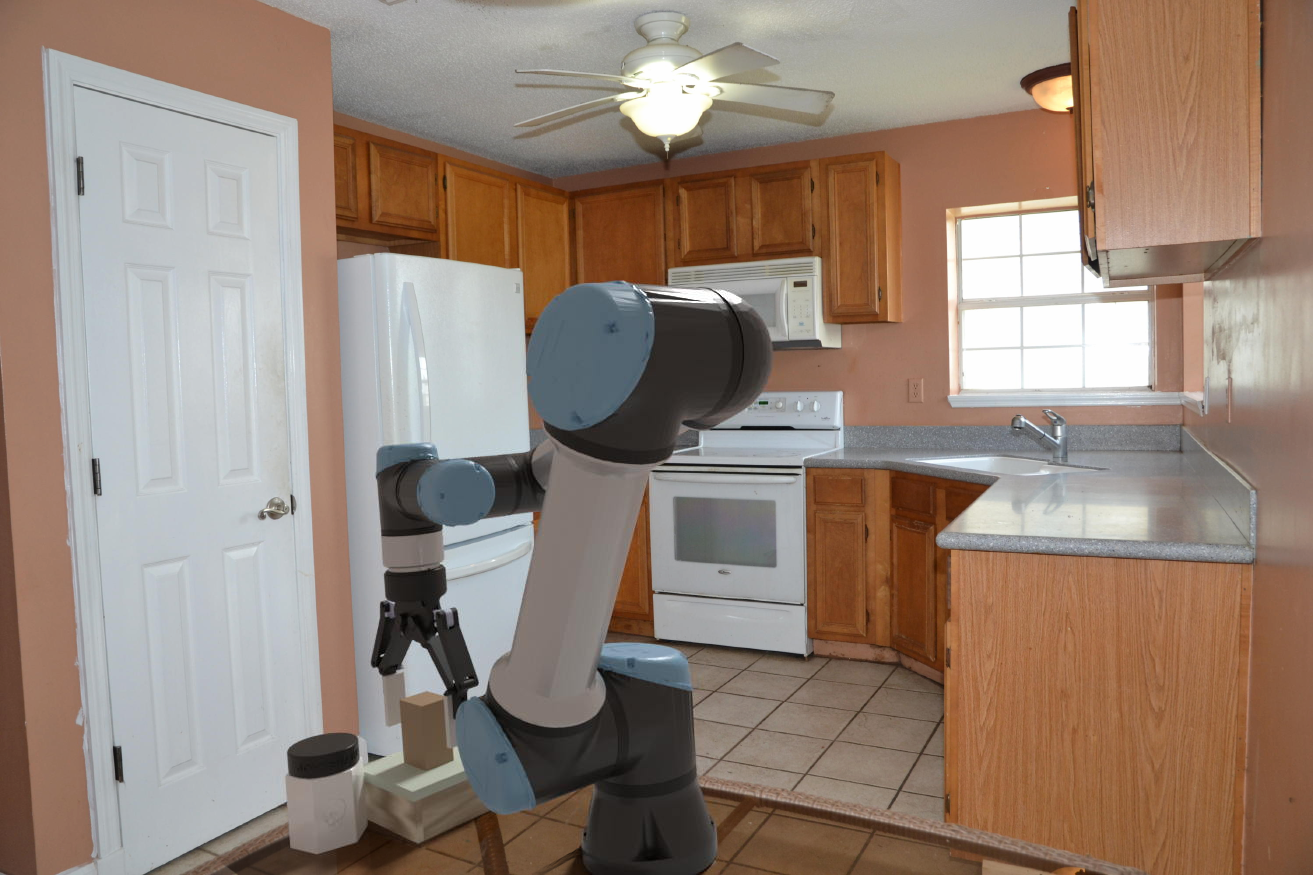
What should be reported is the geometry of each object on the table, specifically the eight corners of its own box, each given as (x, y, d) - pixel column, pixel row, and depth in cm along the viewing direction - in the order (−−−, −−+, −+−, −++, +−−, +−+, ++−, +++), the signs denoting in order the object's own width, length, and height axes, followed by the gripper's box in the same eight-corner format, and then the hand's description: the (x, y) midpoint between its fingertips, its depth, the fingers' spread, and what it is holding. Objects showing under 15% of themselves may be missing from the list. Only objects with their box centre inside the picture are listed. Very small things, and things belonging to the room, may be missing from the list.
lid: (502, 764, 113) (497, 692, 113) (413, 801, 103) (407, 723, 103) (443, 744, 122) (438, 677, 121) (355, 777, 112) (350, 704, 112)
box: (500, 811, 113) (497, 764, 113) (418, 849, 104) (414, 799, 104) (445, 789, 121) (442, 746, 121) (364, 823, 112) (361, 776, 112)
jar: (297, 867, 102) (289, 763, 101) (284, 841, 109) (277, 744, 108) (377, 843, 107) (369, 743, 106) (359, 819, 113) (352, 726, 113)
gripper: (500, 568, 106) (512, 744, 107) (387, 555, 123) (398, 707, 124) (447, 579, 101) (460, 765, 101) (336, 564, 117) (348, 723, 118)
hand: (426, 733), depth 112 cm, fingers open, 13 cm apart
